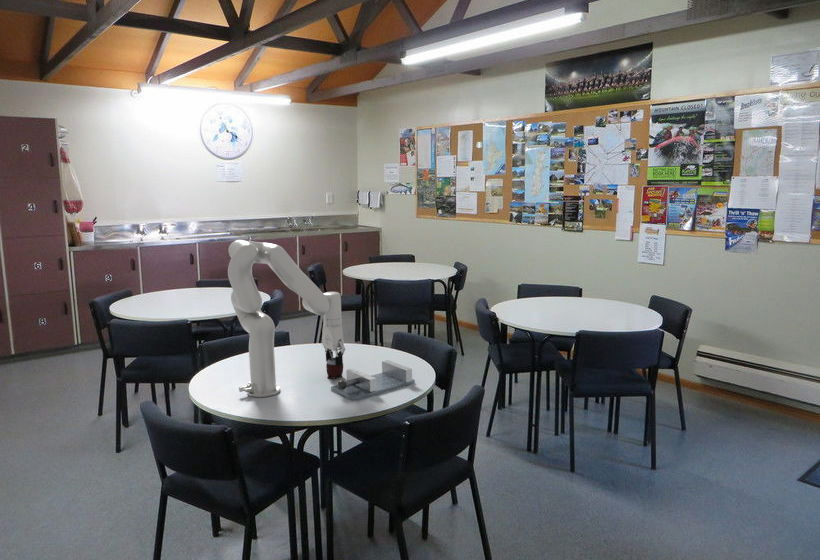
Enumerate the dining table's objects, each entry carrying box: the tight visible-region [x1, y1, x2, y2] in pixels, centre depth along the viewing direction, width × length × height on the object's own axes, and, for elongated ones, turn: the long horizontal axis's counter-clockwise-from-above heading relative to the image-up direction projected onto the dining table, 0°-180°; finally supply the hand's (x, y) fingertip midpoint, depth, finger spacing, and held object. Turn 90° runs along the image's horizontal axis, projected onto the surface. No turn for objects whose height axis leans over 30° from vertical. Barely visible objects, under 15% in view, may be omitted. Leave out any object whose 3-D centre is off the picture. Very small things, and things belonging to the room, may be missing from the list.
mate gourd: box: [325, 349, 344, 381], centre depth 243 cm, size 8×8×15 cm
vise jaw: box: [336, 368, 376, 392], centre depth 225 cm, size 12×16×5 cm
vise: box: [330, 359, 416, 402], centre depth 232 cm, size 30×16×6 cm, turn 130°
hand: (334, 362), depth 243 cm, fingers closed on mate gourd, 6 cm apart
